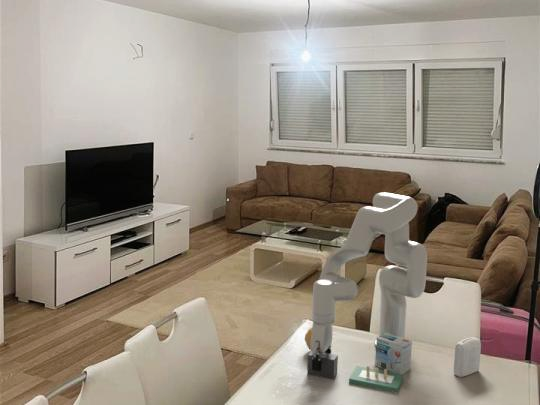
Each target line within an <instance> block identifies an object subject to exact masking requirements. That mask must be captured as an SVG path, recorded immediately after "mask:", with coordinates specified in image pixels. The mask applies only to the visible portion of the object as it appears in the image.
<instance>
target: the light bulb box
mask: <svg viewBox="0 0 540 405" xmlns="http://www.w3.org/2000/svg"><path fill="white" fill-rule="evenodd" d="M376 340H377V341H376ZM376 340H375V341H376V347H375V358H374V359H375V361H374V362H375V363H374V365H375V367H377V368H381V369H382V370H385V369H386V370H387V372H391V373H396V374H401V375H404V374H406V373H408V372H409V371H410V370H411V364H412V363H411V361H412V347H413V346H412V345H413V340H411V339H408V338H406V337H405V338H402V337H399V336H396V335H393V334H390V333H385V334H383V335H381V336H379V335H378V336H377V337H376Z"/></svg>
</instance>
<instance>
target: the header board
mask: <svg viewBox="0 0 540 405" xmlns="http://www.w3.org/2000/svg"><path fill="white" fill-rule="evenodd" d="M403 381H404V374H402V375H401V374H396V373H393V372H390V371H388V370H386V369H383V370H380V369H379V367H375V368H371V367H370V365H367V366H366V367H364V366H359V365H356V367H355V368H354V370H353V372H352V374H351V375H350V376H349V378H348V383H349V384H353V385H358V386H364V387H368V388H372V389H376V390H377V389H378V390H382V391H388V392H392V393H396V394H397V393H398V392H399V390H400V389H401V386H402V383H403Z"/></svg>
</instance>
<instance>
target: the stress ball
mask: <svg viewBox="0 0 540 405" xmlns="http://www.w3.org/2000/svg"><path fill="white" fill-rule="evenodd" d="M311 333H312V327H310V328H309V329H308V330H307V332H306V333H305V336H304V341H305V344H306V346H307V348H308V349H309V350H310V344H311ZM318 350H319V351H321V350H320V349H318Z"/></svg>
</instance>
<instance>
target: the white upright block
mask: <svg viewBox="0 0 540 405" xmlns="http://www.w3.org/2000/svg"><path fill="white" fill-rule="evenodd" d="M481 349H482V343H481V340H480V339H479V338H477V337H475V336H474V337H472V336H471V337H467V338H464V339H462V340H460V341H459V342H458V343H457V344H455V348H454V362H453V373H454V375H455V376H456V377H461V378H462V377H466V376H467V377H468V376H469V375H472V374H474V373H477V372H478V371H479V370H480V364H481V361H480V360H481V353H482V350H481Z"/></svg>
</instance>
